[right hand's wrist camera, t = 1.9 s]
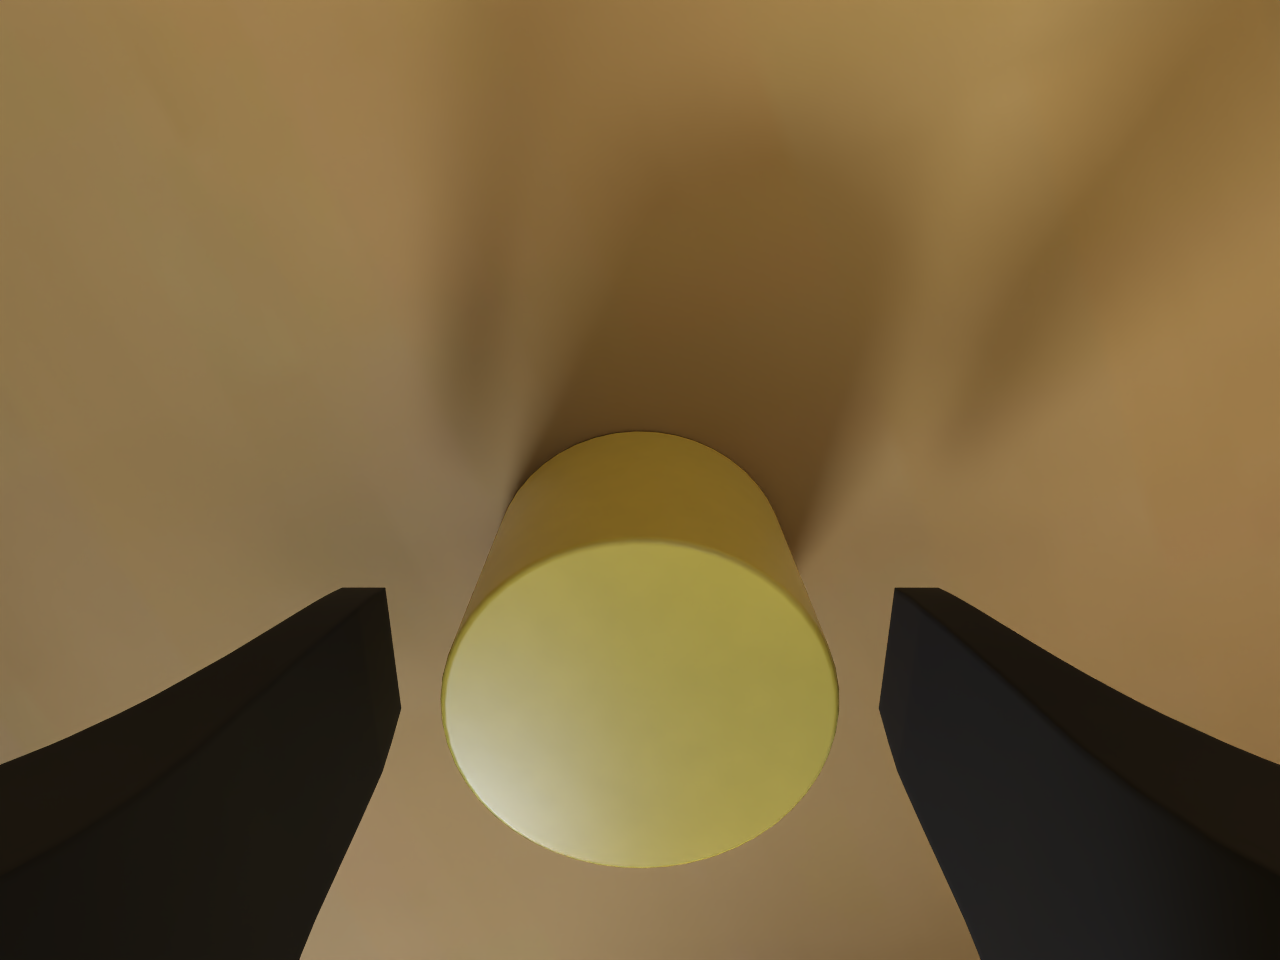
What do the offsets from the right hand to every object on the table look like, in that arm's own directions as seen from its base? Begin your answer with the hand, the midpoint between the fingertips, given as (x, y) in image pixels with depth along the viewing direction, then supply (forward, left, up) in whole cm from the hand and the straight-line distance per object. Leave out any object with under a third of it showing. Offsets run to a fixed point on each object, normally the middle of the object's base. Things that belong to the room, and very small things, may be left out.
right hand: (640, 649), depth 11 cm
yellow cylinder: (0, 0, -3) cm, 3 cm away
